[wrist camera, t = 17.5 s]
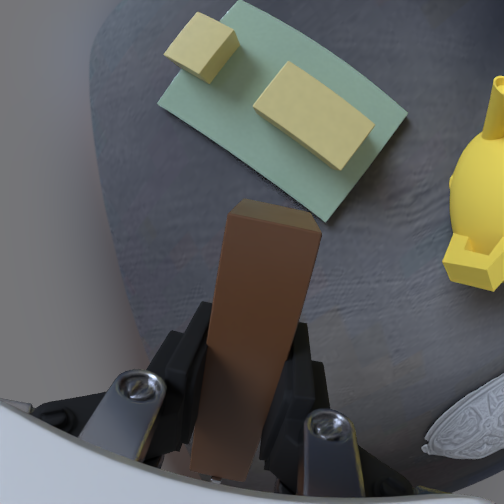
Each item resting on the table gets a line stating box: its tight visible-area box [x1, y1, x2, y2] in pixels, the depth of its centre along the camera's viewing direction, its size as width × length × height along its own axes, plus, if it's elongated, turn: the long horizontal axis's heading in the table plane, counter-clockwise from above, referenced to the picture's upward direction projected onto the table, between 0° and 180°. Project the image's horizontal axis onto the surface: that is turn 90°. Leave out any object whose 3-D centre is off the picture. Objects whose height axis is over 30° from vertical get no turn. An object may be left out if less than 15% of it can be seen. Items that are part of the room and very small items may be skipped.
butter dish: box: [157, 0, 408, 222], centre depth 22 cm, size 16×11×1 cm
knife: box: [190, 199, 322, 484], centre depth 12 cm, size 21×2×3 cm, turn 169°
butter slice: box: [164, 12, 240, 84], centre depth 19 cm, size 3×4×3 cm
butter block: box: [253, 61, 375, 171], centre depth 20 cm, size 7×4×3 cm, turn 54°
